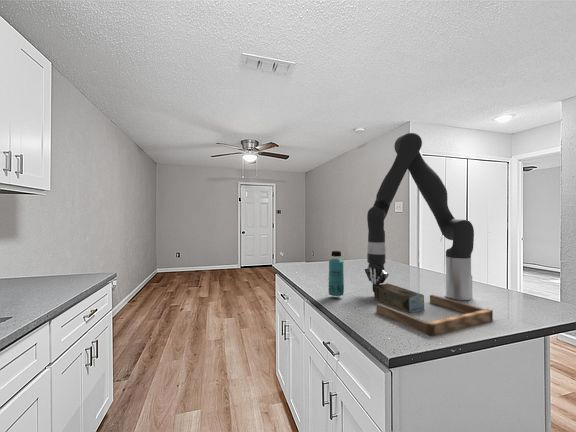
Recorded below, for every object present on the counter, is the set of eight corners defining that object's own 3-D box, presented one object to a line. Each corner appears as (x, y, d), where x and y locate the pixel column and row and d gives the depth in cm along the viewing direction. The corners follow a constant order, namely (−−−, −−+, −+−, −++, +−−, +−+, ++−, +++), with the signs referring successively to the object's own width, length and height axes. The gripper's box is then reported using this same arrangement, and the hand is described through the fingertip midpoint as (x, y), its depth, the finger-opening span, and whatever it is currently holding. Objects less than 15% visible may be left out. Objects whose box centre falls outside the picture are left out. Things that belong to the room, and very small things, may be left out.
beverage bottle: (326, 295, 123) (326, 250, 123) (341, 295, 124) (341, 249, 124) (330, 300, 117) (330, 252, 117) (346, 299, 117) (345, 251, 117)
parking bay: (432, 302, 113) (432, 293, 113) (492, 320, 93) (492, 310, 93) (376, 312, 101) (376, 302, 101) (431, 336, 81) (431, 324, 81)
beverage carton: (409, 313, 101) (408, 295, 101) (372, 299, 118) (372, 284, 118) (425, 310, 104) (425, 292, 104) (387, 297, 121) (387, 282, 121)
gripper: (394, 254, 117) (393, 295, 118) (372, 250, 130) (372, 287, 130) (380, 254, 114) (379, 297, 114) (359, 251, 127) (359, 289, 127)
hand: (375, 292), depth 122 cm, fingers closed
